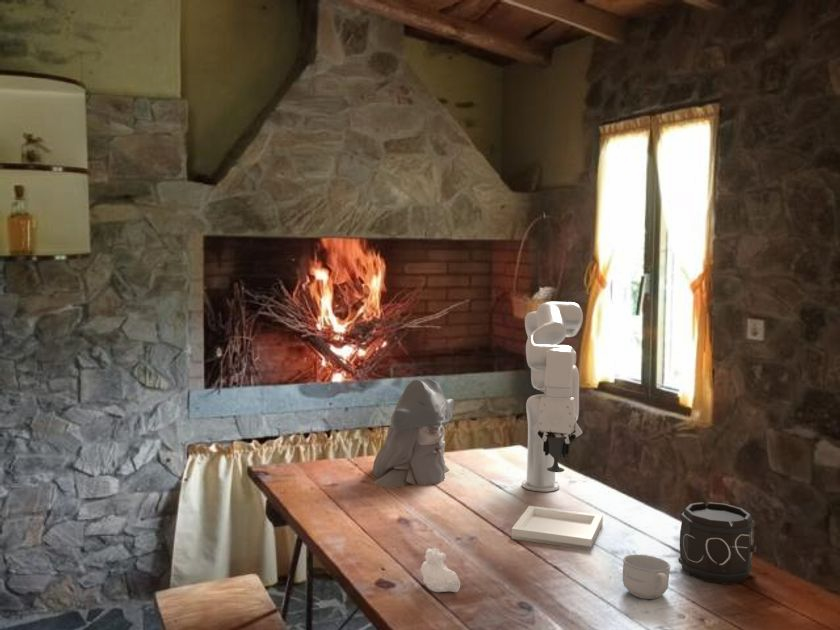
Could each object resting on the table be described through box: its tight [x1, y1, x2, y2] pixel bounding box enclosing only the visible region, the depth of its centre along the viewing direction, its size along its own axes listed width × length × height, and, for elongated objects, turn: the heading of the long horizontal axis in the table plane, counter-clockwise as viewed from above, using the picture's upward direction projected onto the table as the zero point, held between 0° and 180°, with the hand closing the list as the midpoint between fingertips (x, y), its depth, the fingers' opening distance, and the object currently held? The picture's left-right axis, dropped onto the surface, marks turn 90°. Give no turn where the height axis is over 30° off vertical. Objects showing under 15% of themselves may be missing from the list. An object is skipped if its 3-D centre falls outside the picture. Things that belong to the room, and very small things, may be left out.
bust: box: [372, 378, 455, 488], centre depth 292 cm, size 34×34×35 cm
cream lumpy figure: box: [419, 547, 461, 593], centre depth 198 cm, size 12×8×11 cm
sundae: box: [545, 430, 566, 473], centre depth 238 cm, size 7×7×15 cm
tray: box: [511, 505, 604, 551], centre depth 240 cm, size 22×22×3 cm
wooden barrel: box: [678, 501, 758, 586], centre depth 211 cm, size 18×18×16 cm
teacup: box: [622, 554, 671, 600], centre depth 196 cm, size 14×11×8 cm
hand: (556, 454), depth 239 cm, fingers closed on sundae, 4 cm apart
